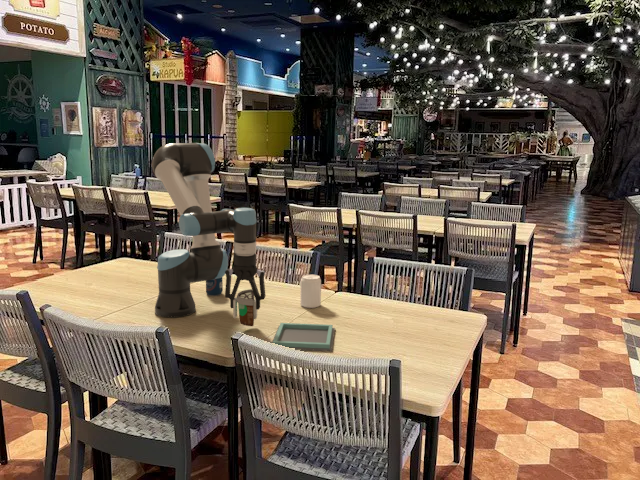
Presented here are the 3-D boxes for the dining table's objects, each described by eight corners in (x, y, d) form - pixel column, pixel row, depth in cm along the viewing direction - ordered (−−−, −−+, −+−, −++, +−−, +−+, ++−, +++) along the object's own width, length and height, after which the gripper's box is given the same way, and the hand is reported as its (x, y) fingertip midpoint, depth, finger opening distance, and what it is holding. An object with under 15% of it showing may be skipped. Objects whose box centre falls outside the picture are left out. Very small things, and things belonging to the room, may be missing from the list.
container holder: (269, 348, 183) (269, 343, 183) (278, 327, 203) (278, 321, 202) (331, 351, 182) (331, 345, 181) (334, 329, 201) (334, 324, 201)
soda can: (202, 295, 239) (202, 267, 237) (211, 290, 246) (211, 264, 243) (217, 297, 237) (216, 269, 234) (225, 292, 243) (225, 265, 241)
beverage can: (318, 309, 223) (318, 280, 220) (298, 307, 224) (298, 278, 222) (322, 303, 231) (322, 274, 228) (303, 301, 232) (303, 273, 230)
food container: (237, 315, 205) (237, 288, 203) (254, 315, 206) (254, 288, 203) (235, 327, 193) (234, 299, 191) (253, 327, 194) (253, 299, 191)
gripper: (214, 254, 191) (215, 319, 196) (271, 257, 190) (271, 322, 195) (219, 249, 198) (220, 312, 203) (274, 252, 197) (274, 315, 202)
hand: (245, 317), depth 199 cm, fingers closed on food container, 6 cm apart
